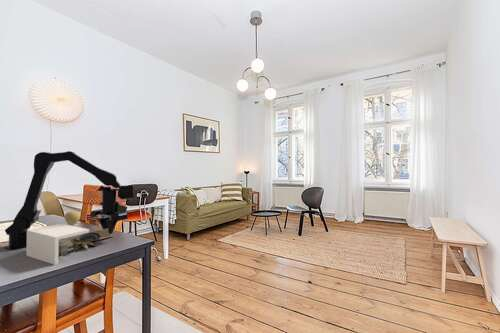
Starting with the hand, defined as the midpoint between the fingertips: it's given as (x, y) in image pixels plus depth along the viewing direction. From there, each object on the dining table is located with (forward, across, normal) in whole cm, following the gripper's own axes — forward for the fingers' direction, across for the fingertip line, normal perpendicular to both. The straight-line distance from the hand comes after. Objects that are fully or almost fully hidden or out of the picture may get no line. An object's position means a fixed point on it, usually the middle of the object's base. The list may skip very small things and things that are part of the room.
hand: (108, 233), depth 114 cm
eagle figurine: (+2, -5, +14) cm, 15 cm away
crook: (+2, -2, +10) cm, 11 cm away
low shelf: (+2, -3, +23) cm, 23 cm away
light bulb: (+2, +26, +1) cm, 26 cm away
